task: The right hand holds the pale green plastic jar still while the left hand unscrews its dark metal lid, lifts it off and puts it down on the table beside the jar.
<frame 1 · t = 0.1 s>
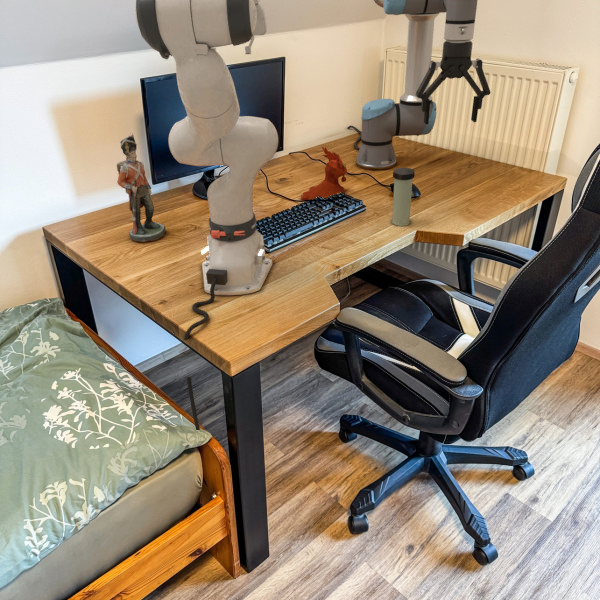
left hand: (231, 54, 151), 48 cm above the table, tool pointing down, fingers open, 8 cm apart
right hand: (449, 122, 160), 28 cm above the table, tool pointing down, fingers open, 13 cm apart
jar: (400, 222, 170), on the table
toy: (324, 194, 192), on the table
lid: (403, 172, 162), point 16 cm above the table, screwed on, not yet turned
figurine: (148, 235, 169), on the table
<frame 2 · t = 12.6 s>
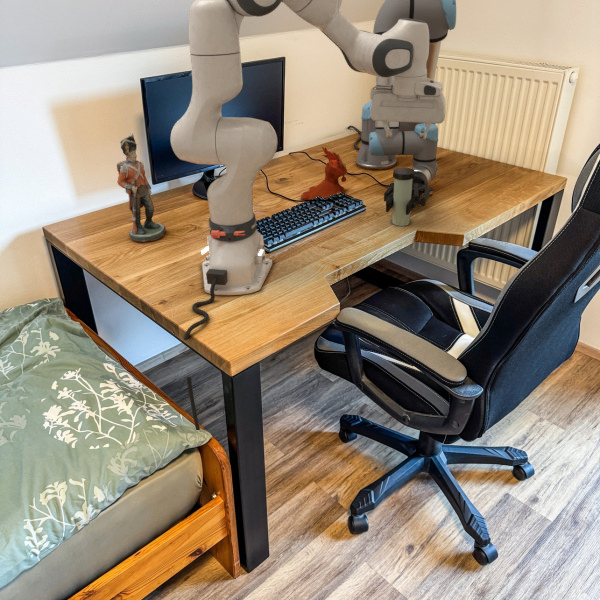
left hand: (405, 137, 157), 26 cm above the table, tool pointing down, fingers open, 8 cm apart
right hand: (397, 209, 163), 6 cm above the table, tool horizontal, fingers closed on jar, 5 cm apart
jar: (400, 222, 171), on the table, touching right hand
everything else where it was.
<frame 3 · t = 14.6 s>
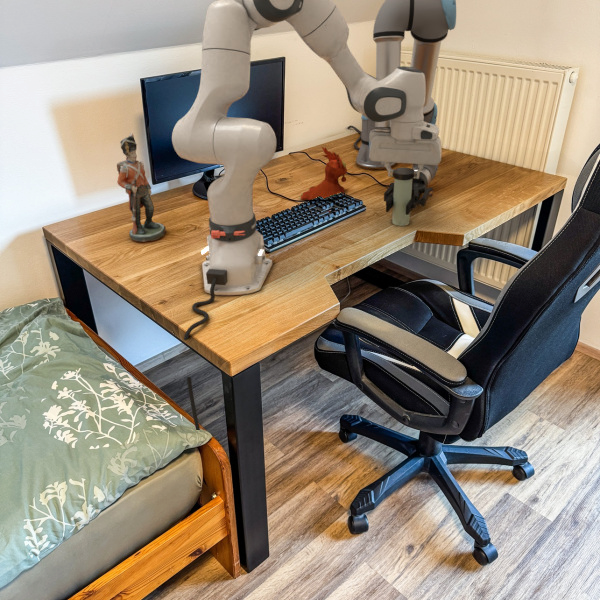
left hand: (403, 177, 163), 14 cm above the table, tool pointing down, fingers closed on lid, 6 cm apart
right hand: (397, 209, 163), 6 cm above the table, tool horizontal, fingers closed on jar, 5 cm apart
jar: (400, 222, 171), on the table, touching right hand
lid: (403, 172, 162), point 16 cm above the table, screwed on, not yet turned, touching left hand
everything else where it was.
when the left hand's fingers open (14 cm above the table, at t = 15.9 s): lid stays where it is, point 16 cm above the table.
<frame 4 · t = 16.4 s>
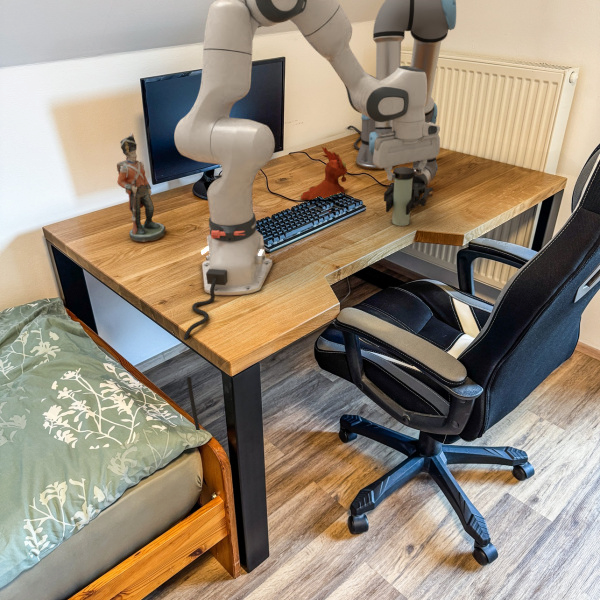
left hand: (404, 177, 162), 14 cm above the table, tool pointing down, fingers open, 8 cm apart
right hand: (397, 209, 163), 6 cm above the table, tool horizontal, fingers closed on jar, 5 cm apart
jar: (400, 222, 170), on the table, touching right hand
lid: (403, 171, 162), point 16 cm above the table, turned 70° so far, risen 0.2 cm, still on its thread
everything else where it was.
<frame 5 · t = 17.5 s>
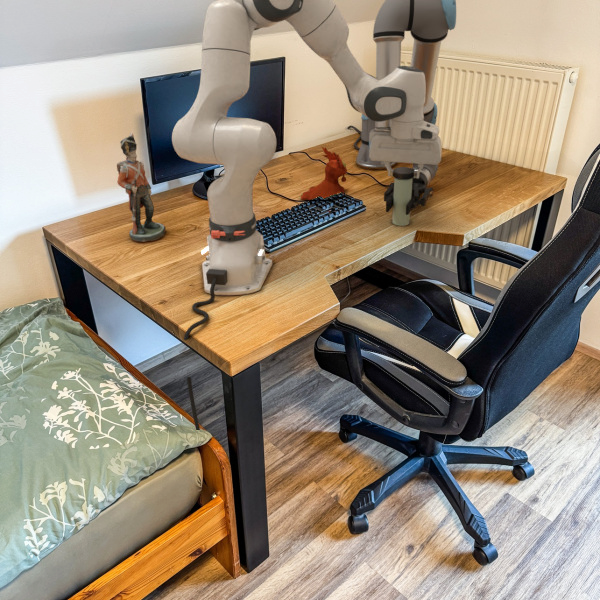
left hand: (403, 176, 163), 14 cm above the table, tool pointing down, fingers closed on lid, 6 cm apart
right hand: (397, 209, 163), 6 cm above the table, tool horizontal, fingers closed on jar, 5 cm apart
jar: (400, 222, 170), on the table, touching right hand
lid: (403, 171, 162), point 16 cm above the table, turned 70° so far, risen 0.2 cm, still on its thread, touching left hand
everything else where it was.
when the left hand's fingers open (2 cm above the table, at t = 25.1 s): lid drops 2 cm, point 1 cm above the table.
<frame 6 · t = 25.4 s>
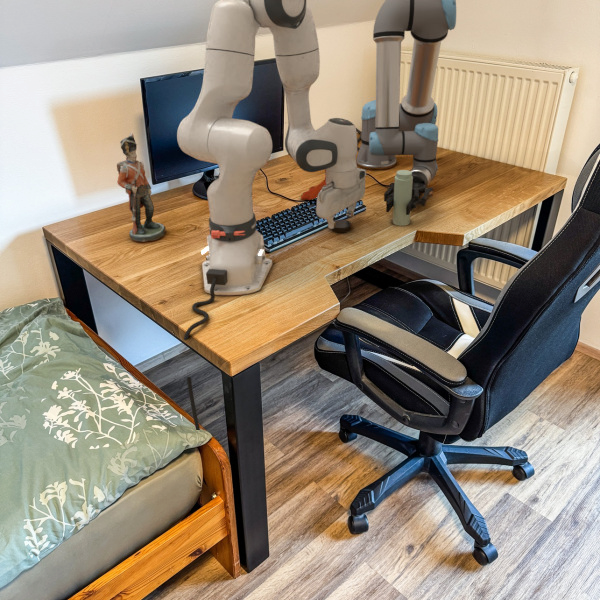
left hand: (341, 222, 167), 2 cm above the table, tool pointing down, fingers open, 8 cm apart
right hand: (397, 209, 163), 6 cm above the table, tool horizontal, fingers closed on jar, 5 cm apart
jar: (401, 222, 171), on the table, touching right hand
lid: (340, 224, 168), point 1 cm above the table, off its thread
everything else where it was.
when the right hand's fingers open (6 cm above the table, at t = 25.9 s): jar stays where it is, on the table.
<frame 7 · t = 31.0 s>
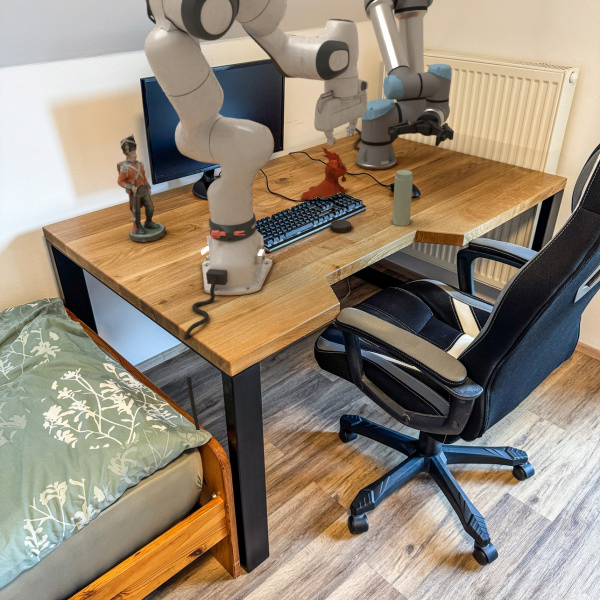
left hand: (341, 140, 154), 27 cm above the table, tool pointing down, fingers open, 8 cm apart
right hand: (413, 140, 166), 22 cm above the table, tool horizontal, fingers open, 13 cm apart
jar: (401, 222, 171), on the table
everything else where it was.
at the end: lid came off its thread; lid point 1.3 cm above the table; the left hand is holding nothing; the right hand is holding nothing; jar tilted 0°; jar moved 0.1 cm from its start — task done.
